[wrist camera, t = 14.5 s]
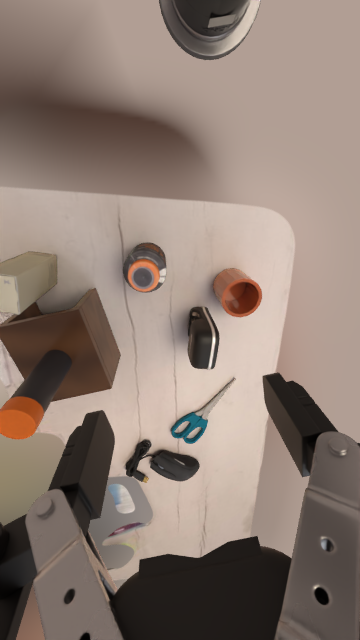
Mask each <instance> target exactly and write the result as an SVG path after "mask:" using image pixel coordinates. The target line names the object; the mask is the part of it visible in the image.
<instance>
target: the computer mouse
mask: <svg viewBox="0 0 360 640" xmlns="http://www.w3.org/2000/svg"><path fill="white" fill-rule="evenodd" d="M144 442H149V443H150V446H149V444H148V443H144ZM150 447H151V442H150V441H147V440H145V441H143V442H141V444H138V446H137V448H136V451H135V455H134V456H133V458H132V459H131V460H130V461H129V462H128V463H127V464H126V470H127V471H126V475H127V476H129V477H132V476H134V477H135V478H136V479H138V480H139V481H141V482H142V481H143V482H145V483H147V481H148V479H149V478H148V477H146V476H145V475H144V474H142V473H140V472H138V471H136V470H137V467H138V464H139V461H140V460H141V459H143V458H145V457H147V456H151V457H152V458H153V459H154V460H153V461H152V462H151V465H150V468H151V469H153V470H154V471H155V472H157V473H158V474H160V475H162V476H163V477H166V478H168V479H171V480H175V481H185V480H188V479H189V478H191V477H192V476H193V475H194V474H195V473H196V472H197V471H198V469H199V463H198V461H197V460H196V459H194V458H192V457H189V456H185V455H178V454H173V453H170V452H168V451H163V452H162V453H160V454H159V455H157V456H155V455H146V456H144V455H145V454H146V453H147V452H148V450H149V448H150ZM142 456H144V457H142Z"/></svg>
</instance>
